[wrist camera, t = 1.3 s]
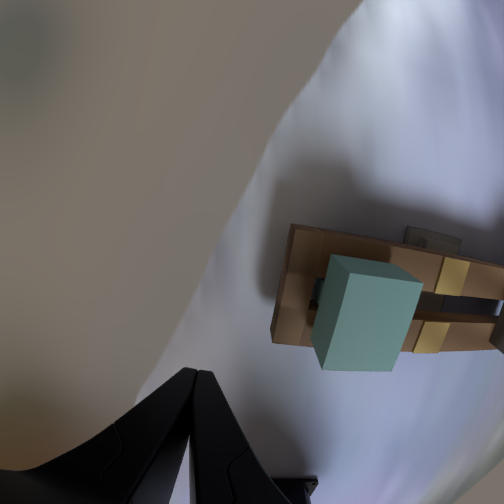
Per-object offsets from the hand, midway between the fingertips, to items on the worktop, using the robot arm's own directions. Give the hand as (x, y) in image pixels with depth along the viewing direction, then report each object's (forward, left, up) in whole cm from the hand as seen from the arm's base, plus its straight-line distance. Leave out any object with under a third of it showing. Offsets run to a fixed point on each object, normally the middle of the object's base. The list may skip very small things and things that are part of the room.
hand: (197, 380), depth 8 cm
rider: (0, -8, -10) cm, 13 cm away
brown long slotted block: (0, -14, -12) cm, 19 cm away
